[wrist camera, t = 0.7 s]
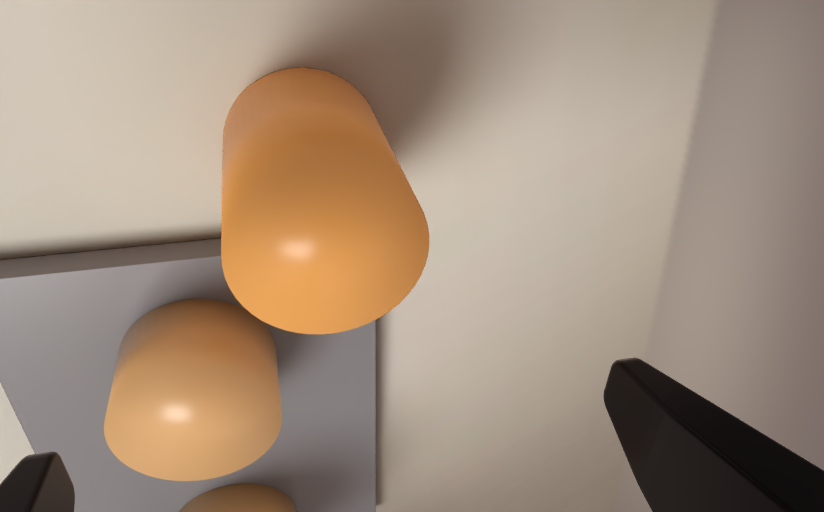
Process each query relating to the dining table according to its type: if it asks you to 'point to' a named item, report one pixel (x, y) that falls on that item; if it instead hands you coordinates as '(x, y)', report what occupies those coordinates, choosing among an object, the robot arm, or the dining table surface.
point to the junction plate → (83, 372)
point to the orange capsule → (315, 206)
